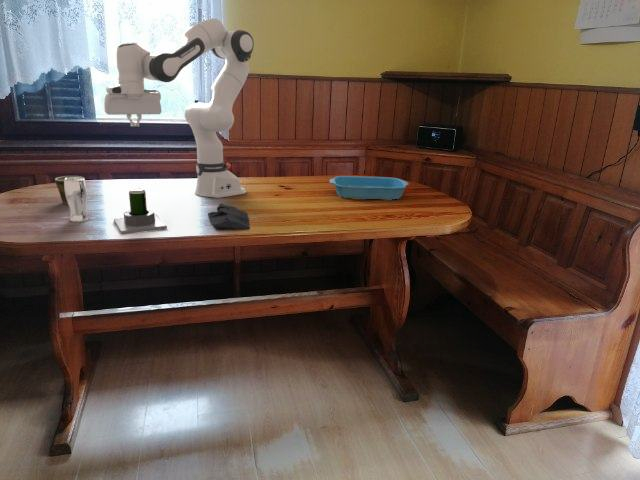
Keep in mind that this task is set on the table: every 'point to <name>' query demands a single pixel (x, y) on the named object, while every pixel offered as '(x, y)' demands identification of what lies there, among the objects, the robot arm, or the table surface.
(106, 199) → the table surface
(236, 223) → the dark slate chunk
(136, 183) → the table surface
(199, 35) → the robot arm
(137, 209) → the beer can
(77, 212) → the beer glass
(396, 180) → the casserole dish
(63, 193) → the ceramic cup
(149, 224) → the barrel holder
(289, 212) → the table surface
